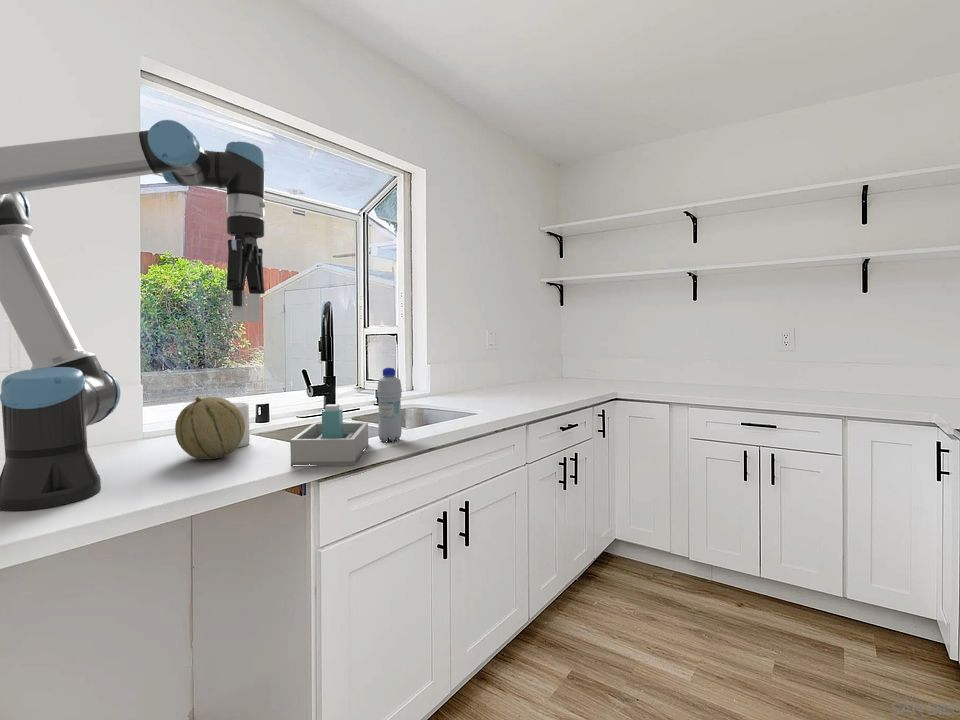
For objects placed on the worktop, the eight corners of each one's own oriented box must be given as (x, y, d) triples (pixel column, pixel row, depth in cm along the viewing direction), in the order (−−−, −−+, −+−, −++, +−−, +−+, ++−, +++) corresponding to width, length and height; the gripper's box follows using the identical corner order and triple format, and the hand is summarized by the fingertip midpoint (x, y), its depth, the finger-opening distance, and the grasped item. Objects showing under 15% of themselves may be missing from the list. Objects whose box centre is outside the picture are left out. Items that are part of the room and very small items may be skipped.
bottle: (372, 442, 141) (371, 368, 140) (385, 436, 148) (384, 366, 146) (395, 443, 139) (394, 368, 138) (406, 438, 145) (405, 366, 144)
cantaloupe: (259, 453, 129) (257, 393, 128) (210, 469, 115) (207, 401, 114) (213, 448, 134) (211, 390, 133) (160, 463, 120) (158, 398, 119)
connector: (339, 452, 125) (338, 406, 125) (322, 453, 125) (321, 406, 124) (343, 448, 129) (342, 403, 129) (326, 449, 129) (325, 404, 128)
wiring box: (354, 465, 118) (353, 439, 117) (290, 466, 117) (290, 440, 117) (368, 445, 138) (368, 422, 137) (314, 445, 137) (313, 423, 136)
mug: (194, 447, 135) (192, 406, 134) (241, 440, 143) (240, 401, 143) (206, 453, 129) (204, 410, 128) (255, 445, 138) (254, 404, 137)
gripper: (245, 207, 105) (246, 322, 106) (278, 227, 125) (279, 322, 127) (206, 206, 104) (208, 321, 106) (246, 226, 125) (247, 322, 126)
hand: (246, 321), depth 116 cm, fingers open, 8 cm apart
